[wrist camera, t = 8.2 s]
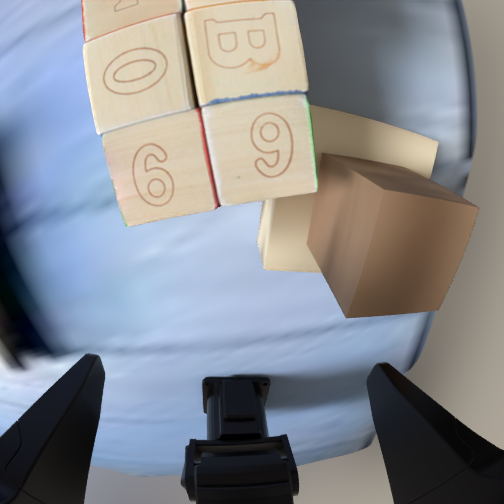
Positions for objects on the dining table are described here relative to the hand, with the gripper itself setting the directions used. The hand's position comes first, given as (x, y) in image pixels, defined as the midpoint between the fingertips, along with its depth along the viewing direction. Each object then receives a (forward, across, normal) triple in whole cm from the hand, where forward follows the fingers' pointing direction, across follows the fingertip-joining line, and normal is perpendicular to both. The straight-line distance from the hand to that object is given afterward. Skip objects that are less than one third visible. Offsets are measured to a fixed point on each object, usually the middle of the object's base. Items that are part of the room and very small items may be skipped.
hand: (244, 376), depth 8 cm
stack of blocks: (+12, +4, -14) cm, 19 cm away
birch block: (+12, -6, -4) cm, 14 cm away
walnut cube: (+8, -6, -3) cm, 11 cm away
